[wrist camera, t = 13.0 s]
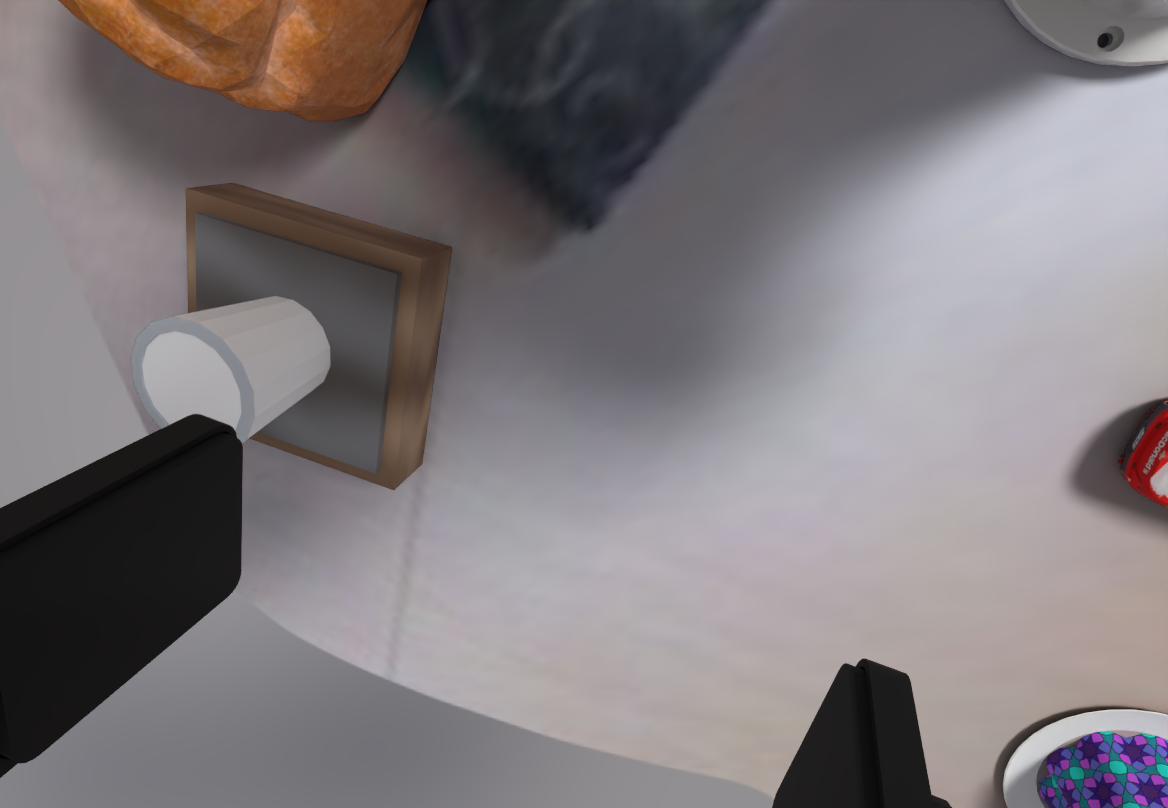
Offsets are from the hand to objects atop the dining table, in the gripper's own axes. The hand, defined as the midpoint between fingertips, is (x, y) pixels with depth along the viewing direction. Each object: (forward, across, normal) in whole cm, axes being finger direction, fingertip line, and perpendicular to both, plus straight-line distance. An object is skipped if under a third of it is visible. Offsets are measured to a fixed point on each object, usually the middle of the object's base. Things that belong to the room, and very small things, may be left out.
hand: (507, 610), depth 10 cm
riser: (+28, +21, +10) cm, 36 cm away
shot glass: (+24, +21, +10) cm, 34 cm away
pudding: (+29, -30, +22) cm, 47 cm away
